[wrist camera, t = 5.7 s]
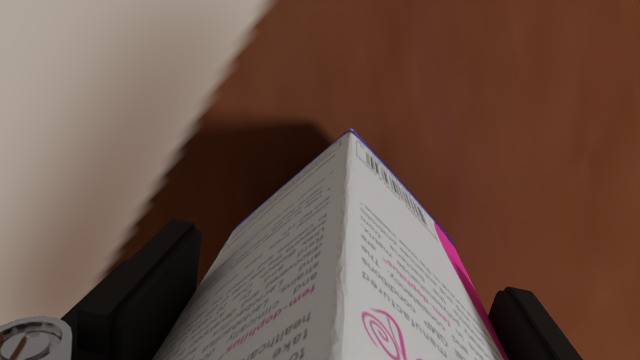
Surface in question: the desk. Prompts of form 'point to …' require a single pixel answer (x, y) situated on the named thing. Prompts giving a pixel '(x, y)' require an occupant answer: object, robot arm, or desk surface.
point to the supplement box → (336, 276)
